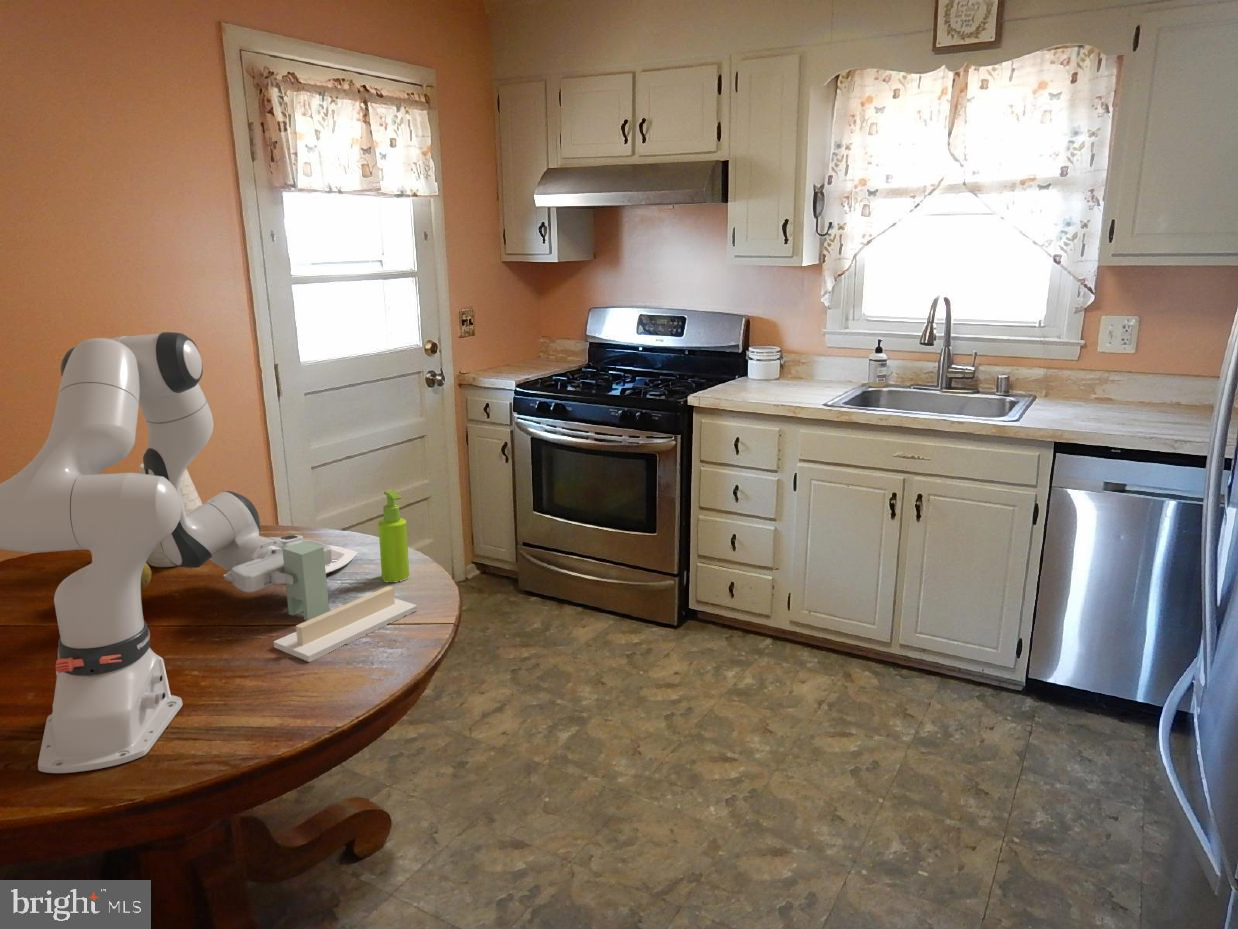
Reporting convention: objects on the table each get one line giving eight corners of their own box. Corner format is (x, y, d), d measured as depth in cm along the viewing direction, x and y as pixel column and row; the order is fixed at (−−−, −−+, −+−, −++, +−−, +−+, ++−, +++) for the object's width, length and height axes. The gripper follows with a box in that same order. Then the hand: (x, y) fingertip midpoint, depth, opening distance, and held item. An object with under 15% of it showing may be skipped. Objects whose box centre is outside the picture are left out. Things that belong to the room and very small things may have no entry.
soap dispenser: (389, 586, 184) (384, 498, 179) (377, 576, 190) (372, 490, 185) (415, 580, 188) (410, 493, 183) (403, 570, 193) (398, 486, 188)
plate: (300, 548, 207) (299, 541, 207) (369, 558, 201) (368, 550, 201) (244, 577, 189) (243, 569, 189) (317, 588, 184) (316, 580, 183)
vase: (208, 569, 193) (196, 471, 187) (122, 576, 189) (107, 476, 183) (221, 543, 209) (210, 451, 203) (142, 549, 205) (129, 456, 199)
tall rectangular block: (308, 621, 167) (301, 554, 164) (288, 614, 171) (282, 548, 167) (329, 612, 171) (323, 547, 168) (309, 605, 175) (303, 541, 171)
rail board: (309, 662, 152) (307, 638, 150) (274, 647, 157) (271, 624, 156) (417, 610, 173) (416, 589, 171) (383, 599, 178) (381, 578, 177)
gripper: (216, 561, 166) (259, 576, 159) (304, 532, 183) (348, 545, 176) (219, 591, 168) (263, 607, 161) (307, 559, 185) (350, 573, 177)
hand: (308, 574), depth 168 cm, fingers closed on tall rectangular block, 5 cm apart
